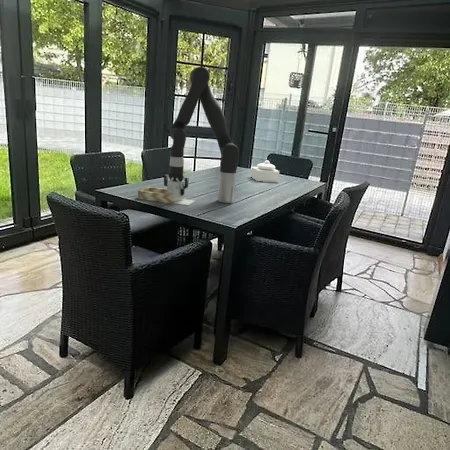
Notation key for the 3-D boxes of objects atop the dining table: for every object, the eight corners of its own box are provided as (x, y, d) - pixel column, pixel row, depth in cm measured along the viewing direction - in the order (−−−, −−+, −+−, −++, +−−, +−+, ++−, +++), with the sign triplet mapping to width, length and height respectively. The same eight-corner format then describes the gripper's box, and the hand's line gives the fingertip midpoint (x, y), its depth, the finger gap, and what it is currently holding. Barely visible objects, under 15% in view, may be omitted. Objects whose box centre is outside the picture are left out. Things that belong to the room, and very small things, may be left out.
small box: (177, 197, 209) (177, 179, 206) (184, 199, 206) (184, 181, 203) (166, 199, 203) (167, 180, 200) (173, 201, 200) (174, 182, 197)
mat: (195, 201, 208) (195, 200, 207) (188, 205, 197) (188, 205, 197) (180, 199, 210) (180, 198, 209) (173, 203, 199) (173, 202, 199)
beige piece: (181, 198, 210) (181, 191, 209) (172, 203, 198) (172, 195, 197) (148, 194, 215) (148, 186, 214) (138, 198, 203) (138, 190, 202)
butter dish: (257, 181, 283) (259, 161, 278) (250, 177, 299) (252, 157, 295) (278, 182, 287) (280, 162, 282) (270, 178, 304) (273, 159, 299)
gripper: (191, 165, 201) (190, 195, 206) (167, 162, 204) (166, 191, 209) (186, 167, 194) (185, 197, 199) (161, 164, 197) (160, 194, 202)
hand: (175, 194), depth 204 cm, fingers closed on small box, 7 cm apart
